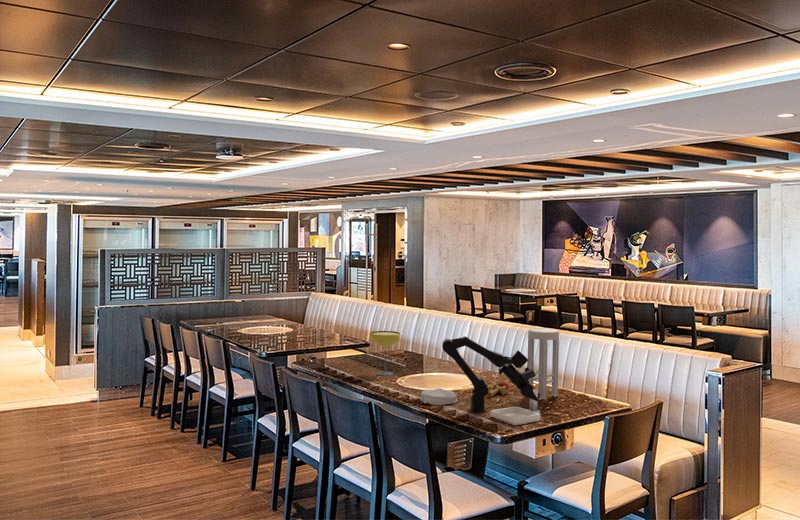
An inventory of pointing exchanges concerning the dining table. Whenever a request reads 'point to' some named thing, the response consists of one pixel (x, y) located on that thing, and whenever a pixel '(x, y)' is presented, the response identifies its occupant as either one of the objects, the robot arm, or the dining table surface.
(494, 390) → the kendama
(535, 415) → the pin tray
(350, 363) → the dining table surface
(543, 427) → the dining table surface
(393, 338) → the cocktail glass
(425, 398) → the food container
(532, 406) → the pin
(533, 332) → the stool
